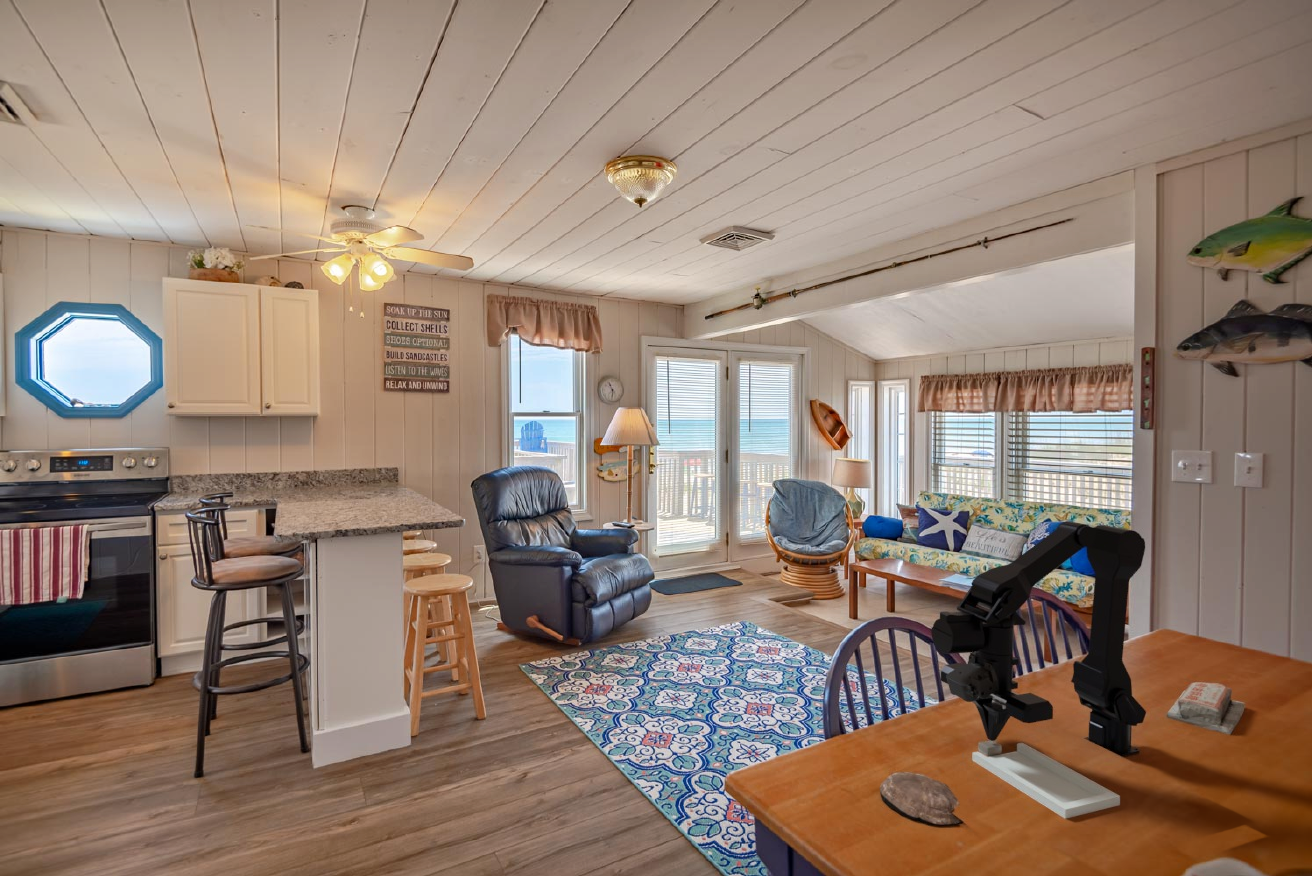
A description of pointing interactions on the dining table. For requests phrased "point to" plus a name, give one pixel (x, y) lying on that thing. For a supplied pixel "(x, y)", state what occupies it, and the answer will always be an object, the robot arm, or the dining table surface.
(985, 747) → the cover plate
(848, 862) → the dining table surface
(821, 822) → the dining table surface
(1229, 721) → the packaged product
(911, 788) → the shell
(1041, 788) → the open box
